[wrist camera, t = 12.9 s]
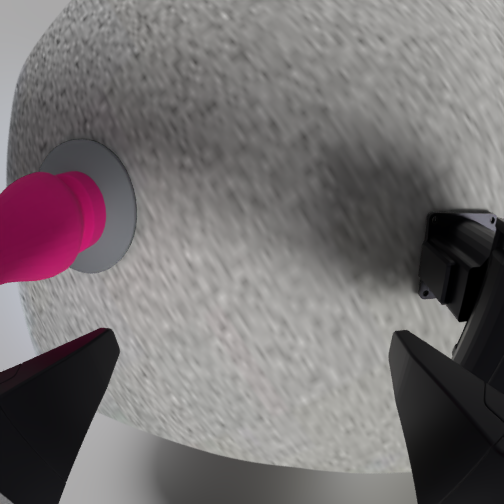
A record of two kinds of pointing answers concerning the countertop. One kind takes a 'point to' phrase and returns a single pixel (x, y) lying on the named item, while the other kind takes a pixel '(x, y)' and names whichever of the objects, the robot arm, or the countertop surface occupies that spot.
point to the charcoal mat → (114, 194)
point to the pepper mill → (47, 224)
